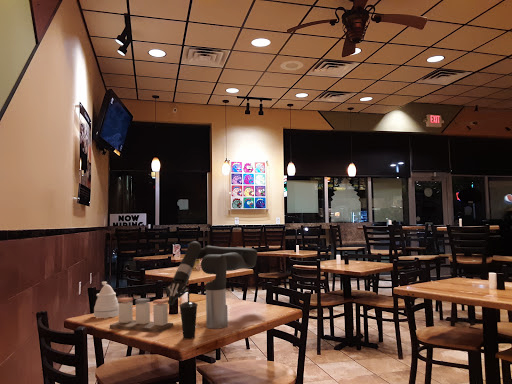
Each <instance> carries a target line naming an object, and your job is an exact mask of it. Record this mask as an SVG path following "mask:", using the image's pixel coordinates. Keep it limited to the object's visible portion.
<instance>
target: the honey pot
mask: <svg viewBox="0 0 512 384" xmlns="http://www.w3.org/2000/svg"><path fill="white" fill-rule="evenodd" d="M101 285H102V287H101V289H100V291H99V293H96V297H97V298H96V301H95V305H94V307H93V317H94V316H95V317H98V318H104V319H109V318H108V317H112V318H116V317H119V316H118V315H119V302H118V298H117V296H116V294H117V293H116V292H115V291H114V289H113V287H112V286H111V285H110V284H108V282H107V281H101ZM115 316H116V317H115ZM98 318H97V319H98Z"/></svg>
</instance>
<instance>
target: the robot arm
mask: <svg viewBox="0 0 512 384" xmlns="http://www.w3.org/2000/svg"><path fill="white" fill-rule="evenodd" d="M257 259H258V250H257V249H255V248H252V247H237V246H236V247H232V246H229V247H226V246H225V247H223V246H215V245H206V246H204V247H203V248H202V245H201V243H200V242H199V241H196V240H195V241H191V242H189V244H188V246H187V249H186V251H185V254H184V256H183V258H182V260H181V262H180V264H179V266H178V268H177V269H176V271H175V274H174V276H173V278H172V282H171V283H170V285H168V286H165V292H166V295H167V296H168V297H169V299H167V300H168V302H167V305H168V306H173V305H174V304H175V301H176V300H177V299H178V298H179V299H180V298H181V297H183V296H184V295H185V294H186V293H188V288H187V284H188V282H189V280H190V278H191V275H192V272H193V269H194V267H195V264H196V260H201V262H200V267H201V270H202V271H203V273H205V274H207V275H215V278H214V279H213V280H211V281H209V282H206V284H205V309H206V310H205V312H206V320H205V321H206V323H205V324H206V328H207V329H211V330H212V329H224V328H225V327H228V326H229V323H228V321H229V320H228V319H229V318H228V317H229V314H228V304H227V298H226V297H227V296H226V295H227V294H226V290H227V289H226V285H227V272H232V271H237V270H241V269H243V270H244V269H252V268H254V267H256V265H257V264H256V263H257Z"/></svg>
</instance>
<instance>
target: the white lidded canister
mask: <svg viewBox="0 0 512 384" xmlns="http://www.w3.org/2000/svg"><path fill="white" fill-rule="evenodd" d="M168 300H169V299H162V298H160V299H154V300H153V301H152V304H154V305H153V308H152V309H153V322H154V325H160V326H163V325H166V324H168V323H169V321H168V317H169V316H168V311H169V309H168Z"/></svg>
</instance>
